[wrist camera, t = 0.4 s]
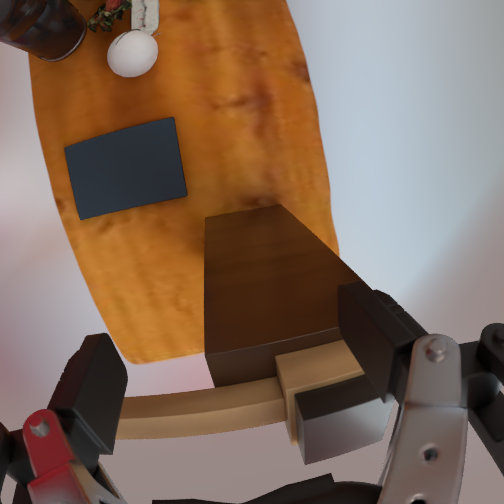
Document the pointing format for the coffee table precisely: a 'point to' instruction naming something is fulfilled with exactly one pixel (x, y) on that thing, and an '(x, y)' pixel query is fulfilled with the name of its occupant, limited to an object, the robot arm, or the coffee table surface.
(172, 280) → the coffee table surface
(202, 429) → the brush
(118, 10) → the mushroom
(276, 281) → the tall dark wooden block
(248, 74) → the coffee table surface
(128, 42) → the white egg
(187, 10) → the coffee table surface
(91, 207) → the mat
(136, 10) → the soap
